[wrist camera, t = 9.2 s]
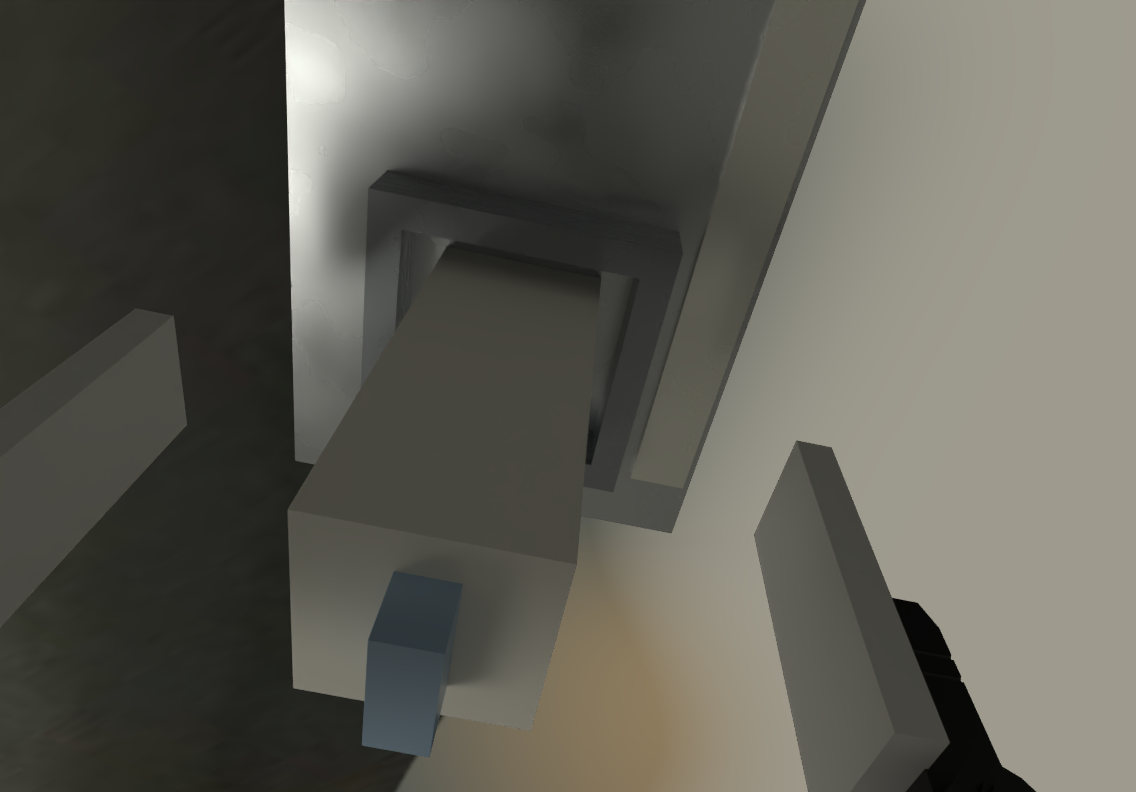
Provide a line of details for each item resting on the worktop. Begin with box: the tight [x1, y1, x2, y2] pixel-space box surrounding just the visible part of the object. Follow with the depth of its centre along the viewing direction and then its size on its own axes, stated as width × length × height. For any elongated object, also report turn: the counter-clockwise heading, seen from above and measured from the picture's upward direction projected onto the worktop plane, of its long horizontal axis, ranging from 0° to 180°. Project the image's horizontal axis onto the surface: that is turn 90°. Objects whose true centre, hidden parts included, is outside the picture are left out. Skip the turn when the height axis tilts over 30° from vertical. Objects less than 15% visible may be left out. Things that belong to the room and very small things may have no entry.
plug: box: [288, 247, 601, 757], centre depth 15 cm, size 4×4×11 cm
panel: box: [285, 0, 866, 533], centre depth 15 cm, size 26×12×2 cm, turn 169°
